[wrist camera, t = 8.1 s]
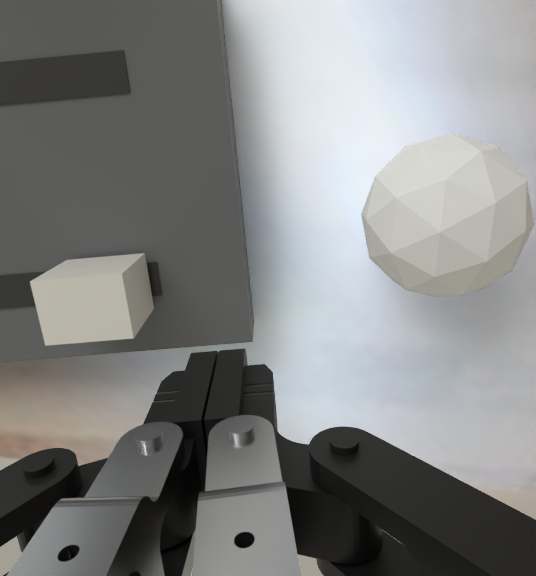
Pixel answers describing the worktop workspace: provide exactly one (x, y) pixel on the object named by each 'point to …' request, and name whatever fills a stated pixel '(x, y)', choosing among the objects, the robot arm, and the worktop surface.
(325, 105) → the worktop surface
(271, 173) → the worktop surface
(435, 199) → the ball
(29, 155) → the breaker panel
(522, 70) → the worktop surface
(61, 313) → the block
